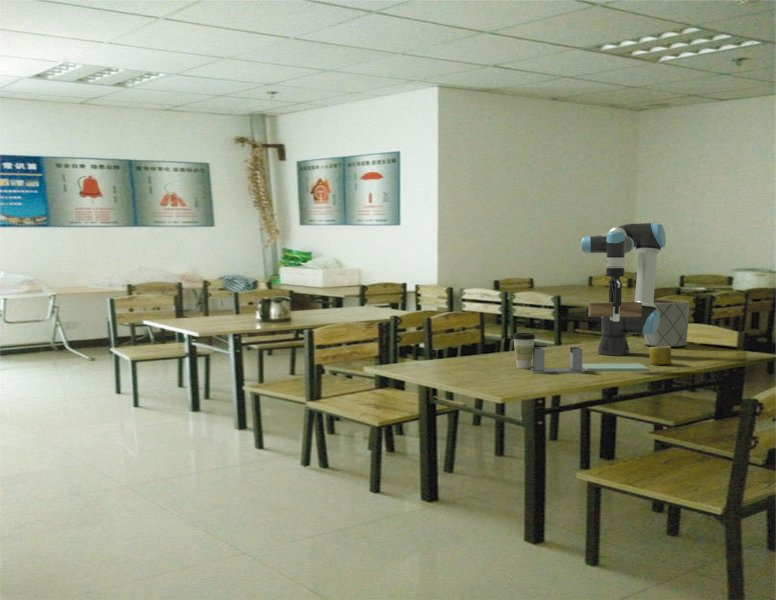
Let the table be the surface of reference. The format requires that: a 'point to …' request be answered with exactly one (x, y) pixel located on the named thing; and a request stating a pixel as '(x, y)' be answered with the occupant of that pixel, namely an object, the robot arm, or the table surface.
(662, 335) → the planter
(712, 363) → the table surface
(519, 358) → the coffee cup
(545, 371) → the standards
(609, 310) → the rail
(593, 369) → the mat
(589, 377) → the table surface
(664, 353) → the mug
